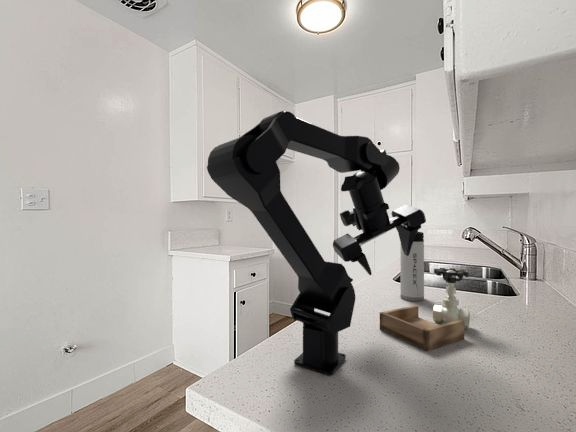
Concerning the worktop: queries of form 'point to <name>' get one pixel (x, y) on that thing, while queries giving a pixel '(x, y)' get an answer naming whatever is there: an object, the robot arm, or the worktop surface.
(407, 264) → the travel mug
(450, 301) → the valve
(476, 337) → the worktop surface
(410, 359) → the worktop surface
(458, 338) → the tray
